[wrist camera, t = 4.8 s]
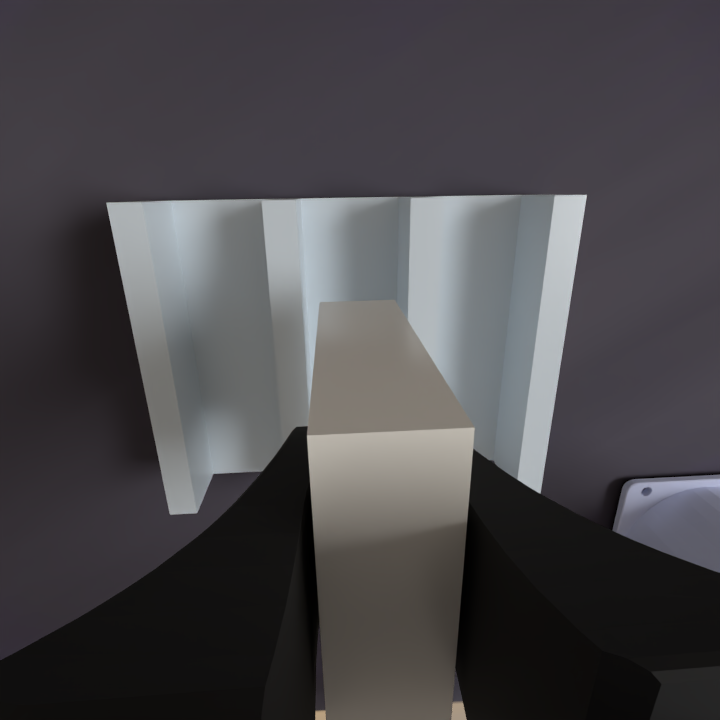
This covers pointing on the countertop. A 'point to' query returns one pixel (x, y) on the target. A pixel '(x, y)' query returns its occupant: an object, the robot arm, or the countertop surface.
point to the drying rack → (333, 284)
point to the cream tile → (386, 515)
